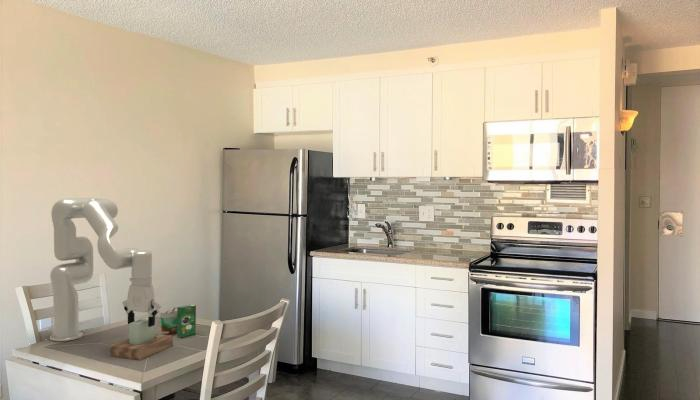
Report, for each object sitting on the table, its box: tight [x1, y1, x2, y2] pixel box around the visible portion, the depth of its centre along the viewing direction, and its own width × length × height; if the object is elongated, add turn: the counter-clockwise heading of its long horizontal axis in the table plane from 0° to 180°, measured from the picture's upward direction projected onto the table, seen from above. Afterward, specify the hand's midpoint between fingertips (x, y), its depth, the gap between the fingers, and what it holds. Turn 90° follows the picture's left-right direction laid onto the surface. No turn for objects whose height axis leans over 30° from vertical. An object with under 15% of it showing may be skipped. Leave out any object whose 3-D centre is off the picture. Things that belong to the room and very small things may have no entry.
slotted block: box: [109, 333, 174, 361], centre depth 225 cm, size 14×20×4 cm
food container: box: [159, 306, 178, 336], centre depth 251 cm, size 12×6×10 cm, turn 168°
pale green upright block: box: [128, 316, 155, 345], centre depth 225 cm, size 4×10×12 cm, turn 162°
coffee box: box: [176, 304, 197, 339], centre depth 247 cm, size 8×3×13 cm, turn 139°
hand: (141, 324), depth 225 cm, fingers open, 9 cm apart
